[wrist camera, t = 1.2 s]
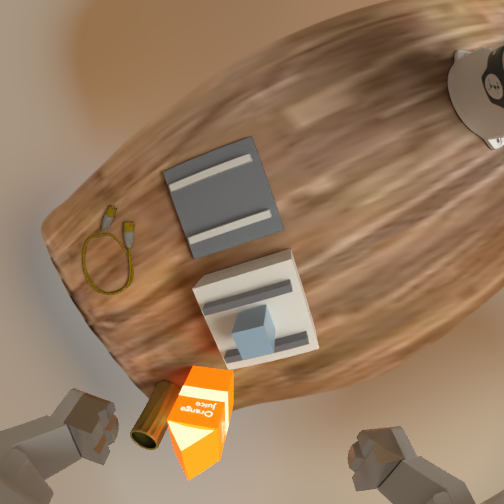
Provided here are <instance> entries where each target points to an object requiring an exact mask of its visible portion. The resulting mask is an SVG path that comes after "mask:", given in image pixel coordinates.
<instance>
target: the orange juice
mask: <svg viewBox="0 0 504 504" xmlns="http://www.w3.org/2000/svg"><path fill="white" fill-rule="evenodd" d="M232 408H233V371H230V370H221V369H213V368H206V367H199V366H193V367H192V369H191V371H190V373H189V375H188V377H187V379H186V381H185V383H184V385H183V387H182V389H181V391H180V393H179V396H178V398H177V400H176V402H175V404H174V406H173V408H172V410H171V413H170V415H169V417H168V419H167V423H168V427H169V432H170V436H171V440H172V444H173V448H174V451H175V454H176V456H177V458H178V460H179V462H180V464H181V466H182V468H183V471H184V473H185V475H186V477H187V479H188V480H190V479H192V478H193V477H195V476H196V475H198V474H199V473H201V472H202V471H204V470H205V469H207V468H208V467H210V466H211V465H213V464H214V463H216V462H217V461H218V460H220V459H221V453H222V449H223V445H224V441H225V437H226V434H227V430H228V426H229V421H230V417H231V412H232Z"/></svg>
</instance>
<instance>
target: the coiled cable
mask: <svg viewBox="0 0 504 504" xmlns="http://www.w3.org/2000/svg"><path fill="white" fill-rule="evenodd" d="M113 207H114V206H113V205H109V207H108V209H107V211H106V212H105V215H104V216H103V222H102V227H101V228H102V229H101V230H98V231H96V232H95V233H98V232H101V231H103V230H107V229H108V228H109V226H110V224H111V223H112V221H113V219H114V217H115V216H114V215H115V212H116V210H117V208H116V209H113ZM134 226H135V224H134V222H127V221H125V222H124V224H123V229H124V241H125V245H126V247H127V248H128V252H127V250H126V249H125V247H124V246H123V245H122V244H121V242H120V241H119V240H118V239H117V238H116V237H115V236H114V235H112V234H109V233H103V234H98V235H93V236H91V237H89V238H88V239H87V240H86V242H85V245H84V248H83V254H82V264H83V270H84V274H85V277H86V279H87V281H88V283H89V284H90V286H91V287H92V288H93V289H94V290H96V291H97V292H99V293H101V294H105V295H114V294H118V293H120V292H122V291H123V290H124V289H126V288H127V287H129V286H130V284H131V283H132V281H133V276H134V269H133V264H132V261H131V256H130V247H132V244H133V239H134ZM103 235H109V236H112V237H113V238H114V239H115V240H116V241H117V242H118V243H119V244H120V245H121V247H122V248H123V249H124V251H125V252H126V254H127V256H128V258H129V280H128V283H127V285H126V286H125V287H124V288H122V289H120V290H118V291H115V292H104V291H102V290H100V289H99V288H97V287H96V286H95V284H94V283H93V282H92V280H91V279H90V277H89V275H88V273H87V271H86V267H85V253H86V247H87V243H88V242H89V240H90V239H91V238H93V237H97V236H103ZM131 268H132V277H131ZM89 280H90V281H89ZM130 280H131V281H130ZM90 282H91V283H92V284H91V283H90Z"/></svg>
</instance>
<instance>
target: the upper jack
mask: <svg viewBox="0 0 504 504" xmlns="http://www.w3.org/2000/svg"><path fill="white" fill-rule="evenodd" d="M192 290H193V292H194V294H195V297H196V299H197V302H198V304H199V306H200V308H201V311H202V313H203V315H204V318H205V320H206V322H207V324H208V327H209V329H210V331H211V333H212V336H213V338H214V340H215V342H216V344H217V346H218V349H219V351H220V353H221V355H222V357H223V359H224V361H225V364H226V366H227V368H228V370H232V369H237V368H242V367H247V366H252V365H256V364H261V363H265V362H269V361H274V360H278V359H282V358H286V357H290V356H294V355H298V354H302V353H305V352H309V351H313V350H316V349H319V346H318V340H317V335H316V330H315V326H314V323H313V319H312V316H311V313H310V309H309V306H308V303H307V299H306V296H305V293H304V289H303V286H302V283H301V280H300V277H299V273H298V270H297V267H296V264H295V261H294V258H293V255H292V251H291V248H290V249H287V250H283V251H280V252H277V253H274V254H271V255H268V256H264V257H261V258H258V259H255V260H252V261H248V262H245V263H242V264H239V265H235V266H232V267H229V268H226V269H223V270H219V271H216V272H213V273H210V274H206V275H203V277H202V278H201V279H200V280H199V281H198V283H197V284H196V285H195V286H194V287H193V289H192ZM263 305H267V307H268V310H269V313H270V315H271V318H272V321H273V324H274V326H275V329H276V331H275V346H274V353H272V354H268V355H264V356H259V357H255V358H251V359H246V360H243V359H242V357H241V355H240V353H239V350H238V348H237V346H236V343H235V341H234V339H233V336H232V334H231V333H232V330H233V327H234V324H235V321H236V318H237V316H238V313H239V312H241V311H245V310H249V309H252V308H256V307H260V306H263Z"/></svg>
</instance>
